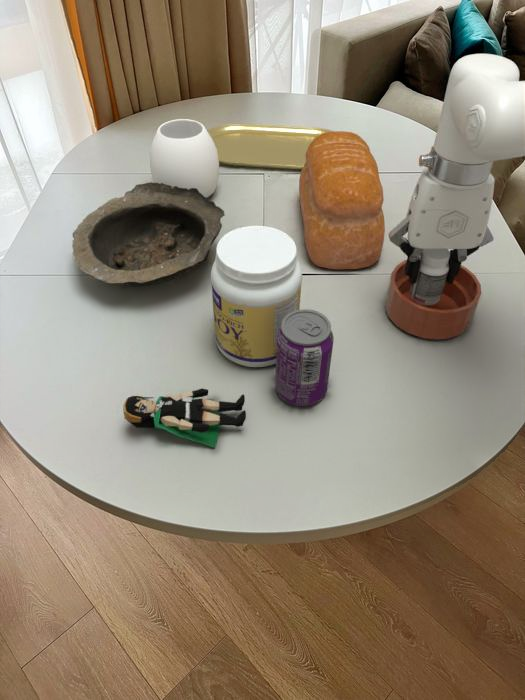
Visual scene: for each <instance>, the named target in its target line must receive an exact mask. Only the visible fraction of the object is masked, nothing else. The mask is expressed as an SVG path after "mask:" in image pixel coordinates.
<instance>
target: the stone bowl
mask: <svg viewBox="0 0 525 700" xmlns="http://www.w3.org/2000/svg"><path fill="white" fill-rule="evenodd" d="M209 199H210V198H209V197H204V196H203V195H202V194H201V193H199V191H198V189H196V188H191V189H189V190H188V189H187V188H178V187H177V186H174V187H172V186H170V185H166V184H163V183H161V184H159V183H154V182H153V181H152V182H147V183H146V182H145V183H138V184H135V186H134V187H133V188H132V189H130V190H127V191H126V192H125V193H124V196H121V197H114V198H111V199H109V200H107V201H106V202H105V203H104V204H101V206H99V207H97V208H96V209H95V210H94V211H92V212H90V213H88V214H87V215H86V216H85V217H84V219H82V221H81V222H80V223H79V224H78V225H77V227H76V229H74V230H73V232H72V238H73V240H72V244H71V245H72V256H73V257H74V261H75V263H76V265H77V266H78V268H79V269H80V270H81V271H82V272H83V273H84V274H85V273H86V274H87V275H90V276H91V277H93V278H94V279H97V280H99V281H103V283H108V284H124V285H126V286H130V287H143V286H150V285H153V284H154V285H155V284H158V283H164V282H167V281H169V280H174V279H175V278H178V277H180V276H181V275H184V274H185V273H187V272H189V271H190V270H192V269H194V268H195V267H197V265H199V264H203V263H205V262H207V261H208V259H209V256H210V255H209V254H210V248H211V247H212V246H213V244H214V242H215V241H216V240H217V238H218V237H219V235H220V232H221V230H222V228H223V224H222V222H221V219H222V218H223V217H224V216H226V214H225V210H224V209H223V208H221V207H219V206H218V205H216V203H215V202H214V201H211V200H209Z"/></svg>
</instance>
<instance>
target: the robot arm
mask: <svg viewBox="0 0 525 700" xmlns="http://www.w3.org/2000/svg"><path fill="white" fill-rule="evenodd" d="M447 81H448V82H447V84H446V90H445V93H444V99H443V101H442V102H443V103H442V107H441V111H440V116H439V120H438V121H439V122H438V125H437V130H436V133H435V139H434V142H433V145H432V146H431V148H430V151H429V153H426V154H420V155H419V157H418V166H419V167H424V168H423V169H422V171H421V174H420V176H419V178H418V180H417V183H416V184H415V187H414V189H413V193H412V195H411V199H410V202H409V204H408V208H407V211H406V216H405V218H404V219H402V221H400V222H399V223H398V224H397V225H396V226H395V227H393V228H392V229H391V230H390V231H389V232H388V239H389V241H390V242H391V244H393V245H394V246H396V247H398V248H399V249H400V250H401V252H402V253H404V255H406V260H407V261H406V266H405V275H406V276H409V280H410V283H411V284H415V283H416V281H417V277H418V273H419V269H420V265H421V262H420V259H419V257H420V255H421V253H422V252H423V250H424V249H448V250H449V252H450V258H449V261H448V263H449V271H448V275H447V278H446V281H447V283H448V284H453V281H454V278H455V276H457V275H458V273H459V270H460V267H461V265H462V263H463V262H465V261H467V260H468V257H470V256H471V255H472V254H474V253H476V252H477V251H478V250H479V249H480V248H482V247H484V246H486V245H488V244H489V243H492V242H493V241H494V239H495V238H494V236H493V234H492V232H491V229H490V228H489V226H488V223H489V221H490V214H491V210H492V204H493V200H494V199H493V198H494V191H495V177H494V175H493V174H492V168H493V165H494V162H495V161H503V160H508V159H515V158H522V157H525V80H520V69H519V67H518V66H517V64H516V63H515V62H514V61H512V60H511V59H509V58H506V57H504V56H502V55H498V54H492V53H474V54H473V53H472V54H467V55H464V56H462V57H461V58H459V59H458V60H457V61H456V62H455V63H454V64H453V66H452V68H451V70H450V73H449V77H448V80H447ZM406 234H407V238H406V237H404V236H405V235H406Z"/></svg>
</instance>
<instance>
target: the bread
mask: <svg viewBox="0 0 525 700" xmlns="http://www.w3.org/2000/svg"><path fill="white" fill-rule="evenodd" d="M333 131H334V132H325V133H323V134H321V135H319V136H318V137H316V138H315V139H314V140H313V141H312V142H311V143H310V145H309V147H308V149H307V151H306V155H305V157H306V163H305V164H304V166H303V169H302V170H300V174H299V178H298V198H299V204H300V210H301V217H302V223H303V226H304V232H303V233H304V234H303V235H304V243H305V249H306V252H307V254H308V257H309V259H310V261H311V262H312V263H313V264H314V265H316V266H317V267H320V268H324V269H329V270H359V269H363V268H368V267H370V266H373V265H374V264H375V263H376V262H378V260H379V259H380V258H381V256H382V251H383V246H384V241H385V235H386V226H385V215H384V212H383V211H384V210H383V204H384V200H385V199H384V188H383V185H382V182H381V179H380V172H379V167H378V164H377V160H376V159H375V157H374V155H373V154H372V153H371V149H370V146H369V145H368V144H367V142H366V141H365V140H364V139H363V138H362V136H360V135H359V134H357V133H355V132H352V131H346V130H345V131H344V130H339V131H338V130H337V131H335V130H333Z"/></svg>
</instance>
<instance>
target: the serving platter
mask: <svg viewBox="0 0 525 700" xmlns="http://www.w3.org/2000/svg"><path fill="white" fill-rule="evenodd" d="M206 130H207V132H208V133H209V135H210V136H211V138H212V140H213V142H214V144H215V146H216V148H217V153H218V159H219V165H224V166H233V167H248V168H263V169H265V168H267V169H280V170H281V169H282V170H299V171H302V169H303V166H304V164H305V163H306V157H305V155H306V151H307V149H308V147H309V145H310V143H311V142H312V141H313V140H314V139H315V138H316V137H318V136H319V135H321V134H323V133H325V132H334V131H335V130H331V129H328V128H323V127H313V126H311V127H310V126H293V125H274V124H256V123H255V124H254V123H227V124H221V125H218V126H214V127H212V128H208V129H206Z"/></svg>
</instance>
